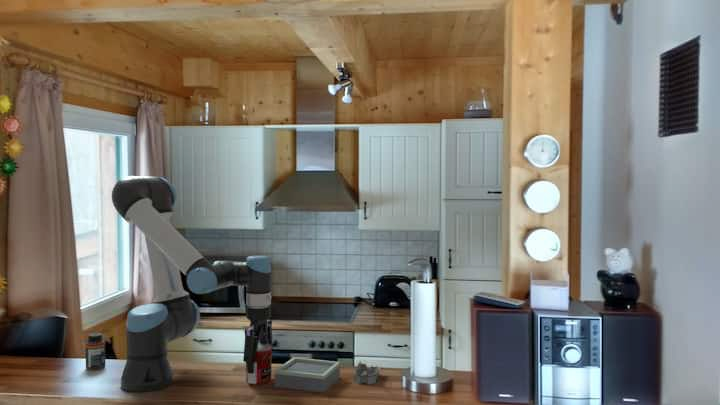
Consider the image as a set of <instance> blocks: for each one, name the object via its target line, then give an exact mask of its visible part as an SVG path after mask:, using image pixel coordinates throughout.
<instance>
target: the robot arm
mask: <svg viewBox="0 0 720 405" xmlns="http://www.w3.org/2000/svg"><path fill="white" fill-rule="evenodd" d="M176 201H177V192H176V188H175V186H174V185H173V184H172V182H170V181H169V180H168V179H166V178H164V177H159V176H156V175H155V176H154V175H152V176H147V175H146V176H145V175H143V176H139V175H138V176H136V175H128V176H125V177H122V178H121V179H120V180H118V181H117V182H116V183H115V184H114V186H113V188H112V190H111V202H112V205H113V206H114V208H115V210H116V211H117V213H118V215H119V216H120V217H121V218H123V220H124V221H126V223H132V224H133V225H134V226H136V227H137V229H139V231H141V232H142V234H144V238H145V244H146V250H147V254H148V259H149V265H150V271H151V274H152V279H153V285H154V290H155V297H154V299H153V300H152V303H148V304H147V303H146V304H142V305H138V306H136V307H134V308H132V309H131V310H129V312H128V313H127V317H126V322H125V323H126V324H125V326H126V363H125V365H124V368H123V371H122V374H121V377H120V388H121V389H122V390H123V391H124V390H125V391H128V392H134V393H135V392H137V393H138V392H139V393H140V392H141V393H143V392H151V391H157V390H160V389H161V390H162V389H164V388H167V387H169V386H170V385H172V384H173V383H174V372H173V370H172V367H171V364H170V360H169V357H168V343H170V342H173V341H174V340H175V341H176V340H177V339H180V338H184V337H187V336H188V335H190V334H192V332H194V331H195V330H196V328H197V327H198V326H199V323H200V320H201V312H200V308H199V306H198V305H197V303H195V301H194V300H192V299H191V298H190V293H189V292H187V291H186V290H185V289H184V286H183V282H182V276H181V272H182V274H183V275H184V276H186V284H187V287H188V289H189V290H190V291H191V292H192V293H194V294H197V295H202V294H210V293H211V292H213V291H217V290H220V289H223V288H228V287H230V286H236V287H239V286H240V287H246V293H245V294H246V298H245V299H246V304H245V305H246V314H245V315H246V316H245V317H246V319H247V320H249V321H250V322H249V327H248V328H245V329H244V345H243V346H244V347H243V361H242V362H243V363H246V362H247V363H248V384H249V383H252V384H251V385H253V384H256V383H257V362H255V359H256V354H257V348H258V343H262V344H270V345H271V350H272V353H274V352H273V349H274V344H273V330H272V326H273V320H272V319H271V318H272V317H271V316H272V306H271V304H272V302H271V301H272V298H273V297H272V293H271V292H272V289H271V288H272V287H271V284H272V264H271V258H270V257H269V256H267V255H250V256H247V257H246V261H234V260H216V261H214V262H213V263H212V264H211V262H210V261H208V260H207V259H206V257H204V255H202V254H201V253H200V252H199V251H198V250H197V249H196V248H195V247H194V246H193V245H192V244H191V243H190V242H189V241H188V240H187V239H186V238H185V237H184V236H183V235H182V234H181V233H180V231H178V230H177V229H176V228H175V227H174V226H173V225H172V224H171V220H170V219H171V217H172V216H173V215H174V212H173V207H174V206H175V203H176Z"/></svg>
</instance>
